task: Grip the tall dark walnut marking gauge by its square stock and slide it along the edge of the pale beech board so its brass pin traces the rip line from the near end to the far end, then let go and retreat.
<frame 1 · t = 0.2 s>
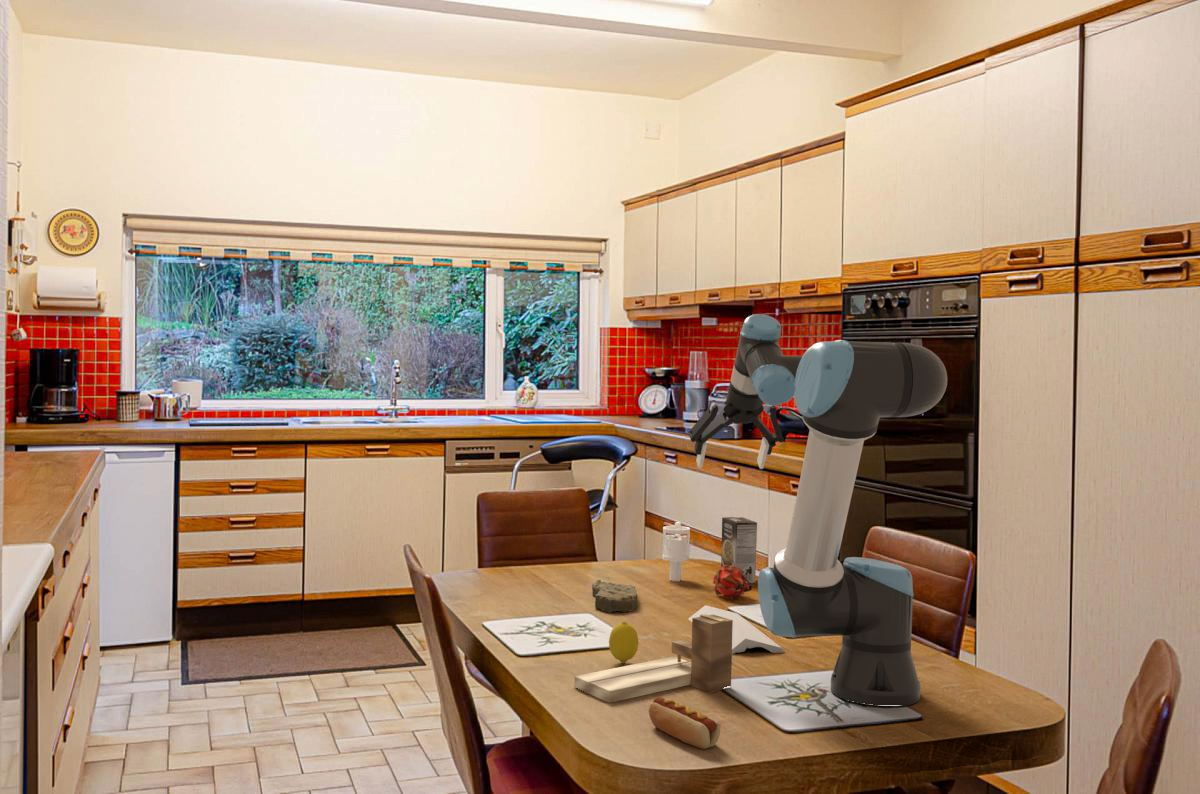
hand: (729, 464, 228), 35 cm above the table, tool tilted 35°, fingers open, 13 cm apart
board: (643, 683, 187), on the table
dragon fruit: (731, 598, 259), on the table
crown molding: (733, 638, 223), on the table
strainer: (675, 580, 279), on the table
coffee box: (737, 580, 281), on the table
gauge: (710, 686, 187), on the table
stone slab: (614, 602, 254), on the table
lemon: (623, 664, 200), on the table
food: (683, 739, 161), on the table
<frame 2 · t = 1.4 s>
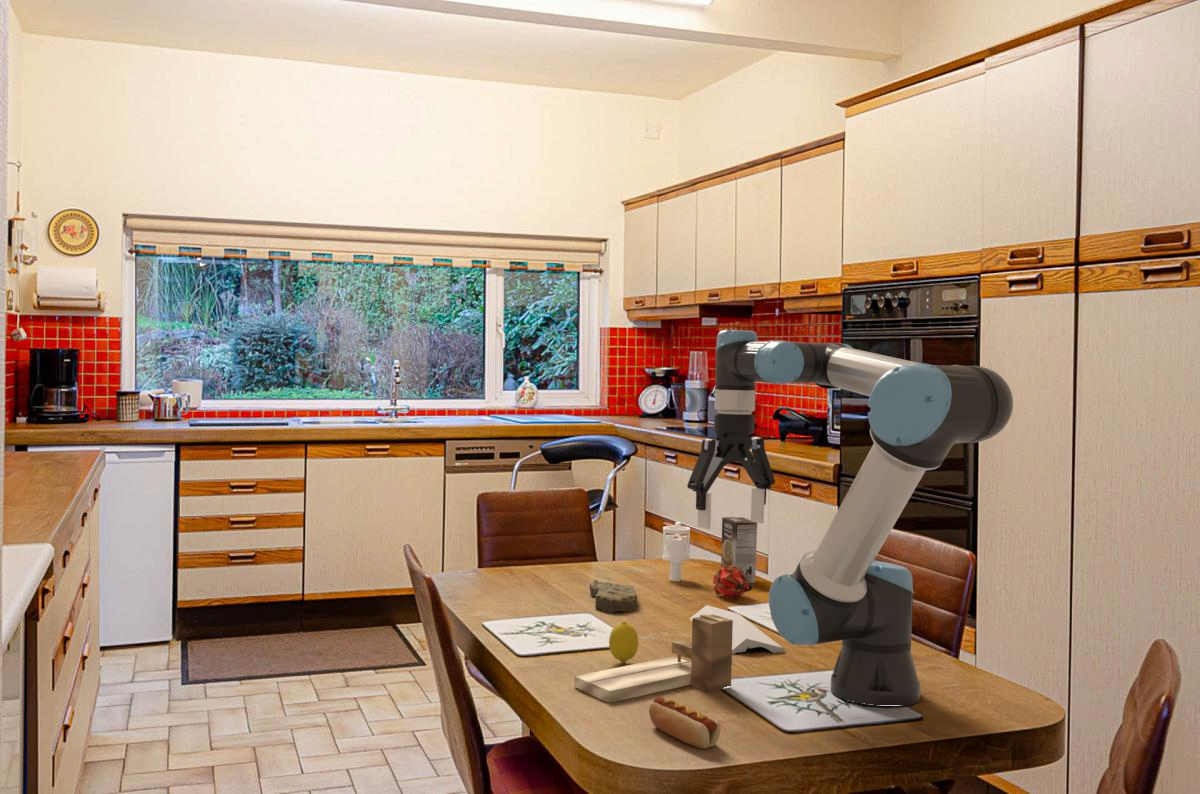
hand: (731, 525, 199), 27 cm above the table, tool pointing down, fingers open, 13 cm apart
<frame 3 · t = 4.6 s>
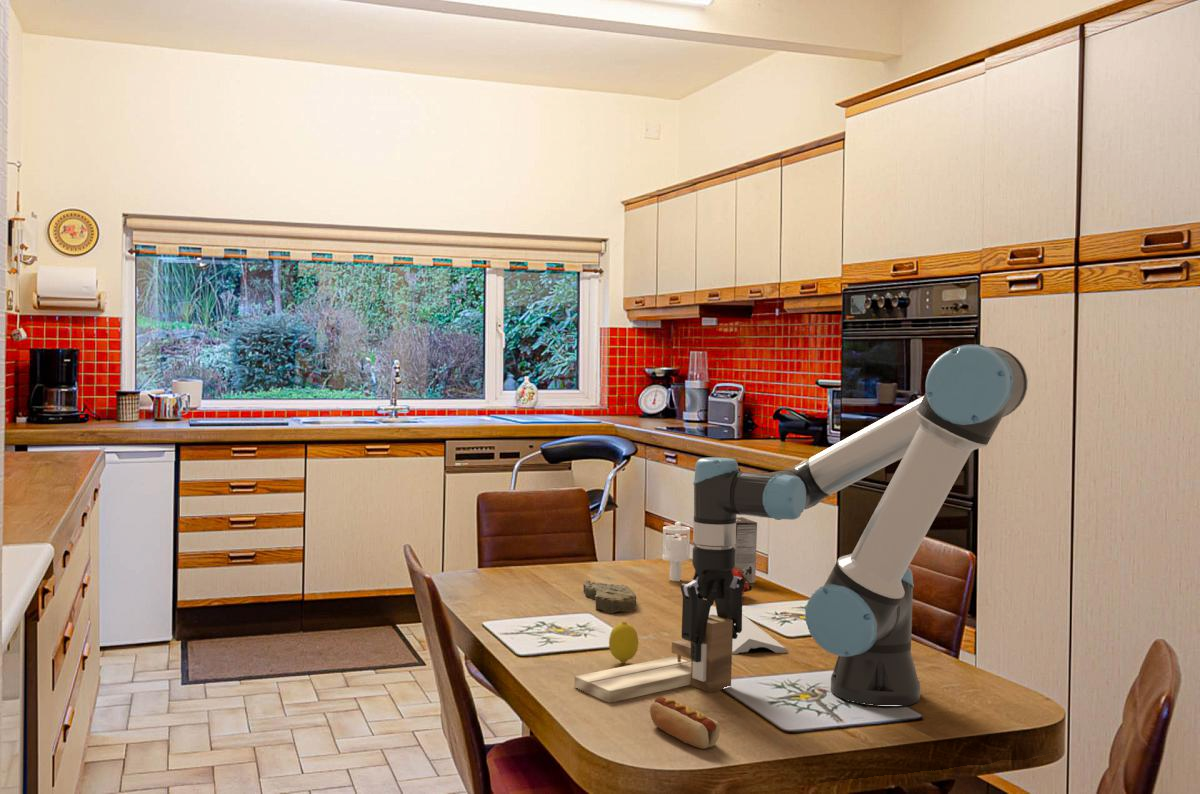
hand: (711, 676, 187), 2 cm above the table, tool pointing down, fingers closed on gauge, 5 cm apart
gauge: (710, 686, 187), on the table, touching gripper
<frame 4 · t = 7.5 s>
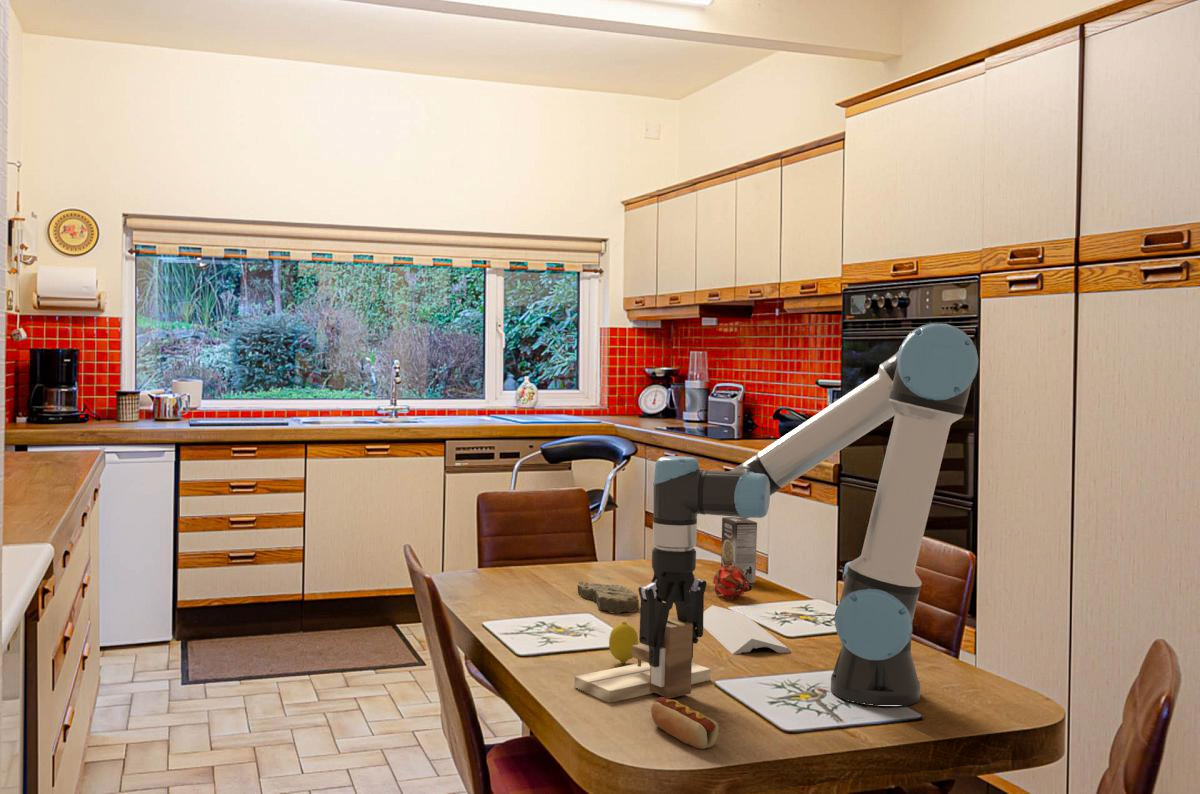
hand: (670, 681, 181), 2 cm above the table, tool pointing down, fingers closed on gauge, 5 cm apart
gauge: (670, 692, 181), point 1 cm above the table, touching gripper
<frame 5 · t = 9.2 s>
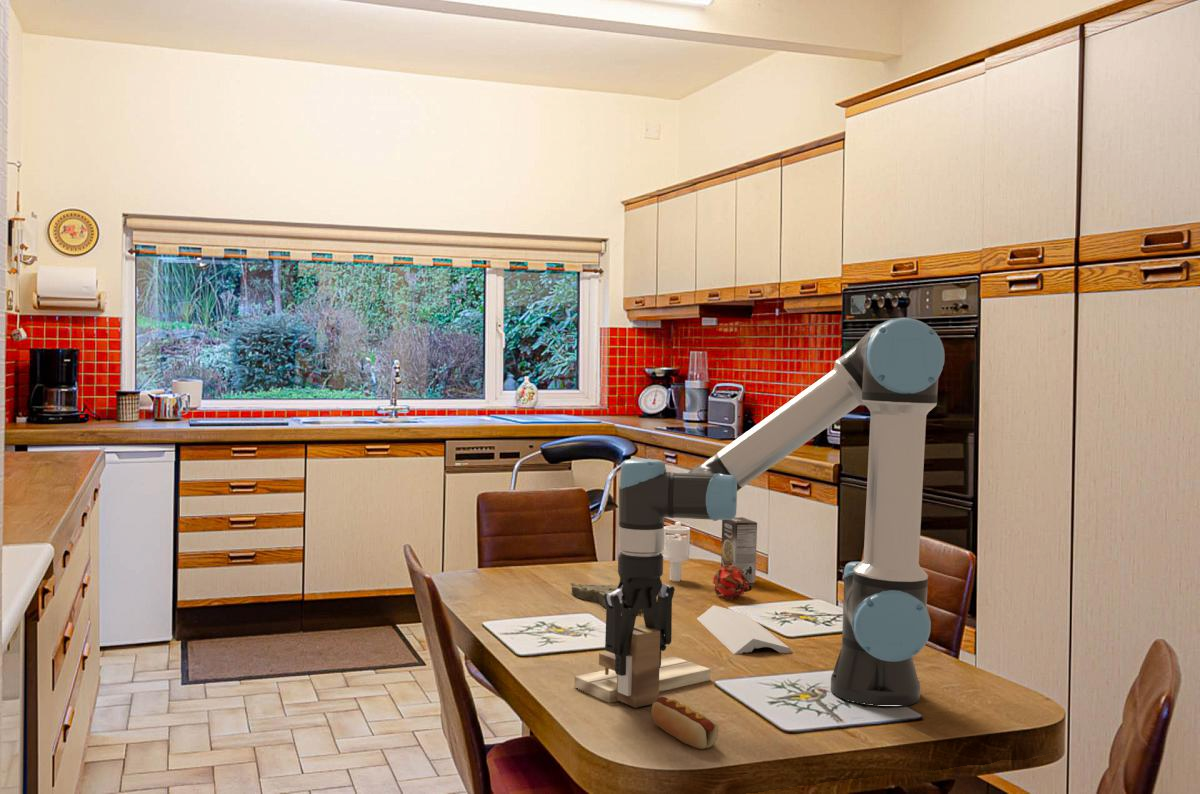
hand: (637, 690, 176), 2 cm above the table, tool pointing down, fingers closed on gauge, 5 cm apart
gauge: (637, 700, 177), on the table, touching gripper
when the fingers open (2 cm above the table, at t = 10.3 s): gauge stays where it is, on the table.
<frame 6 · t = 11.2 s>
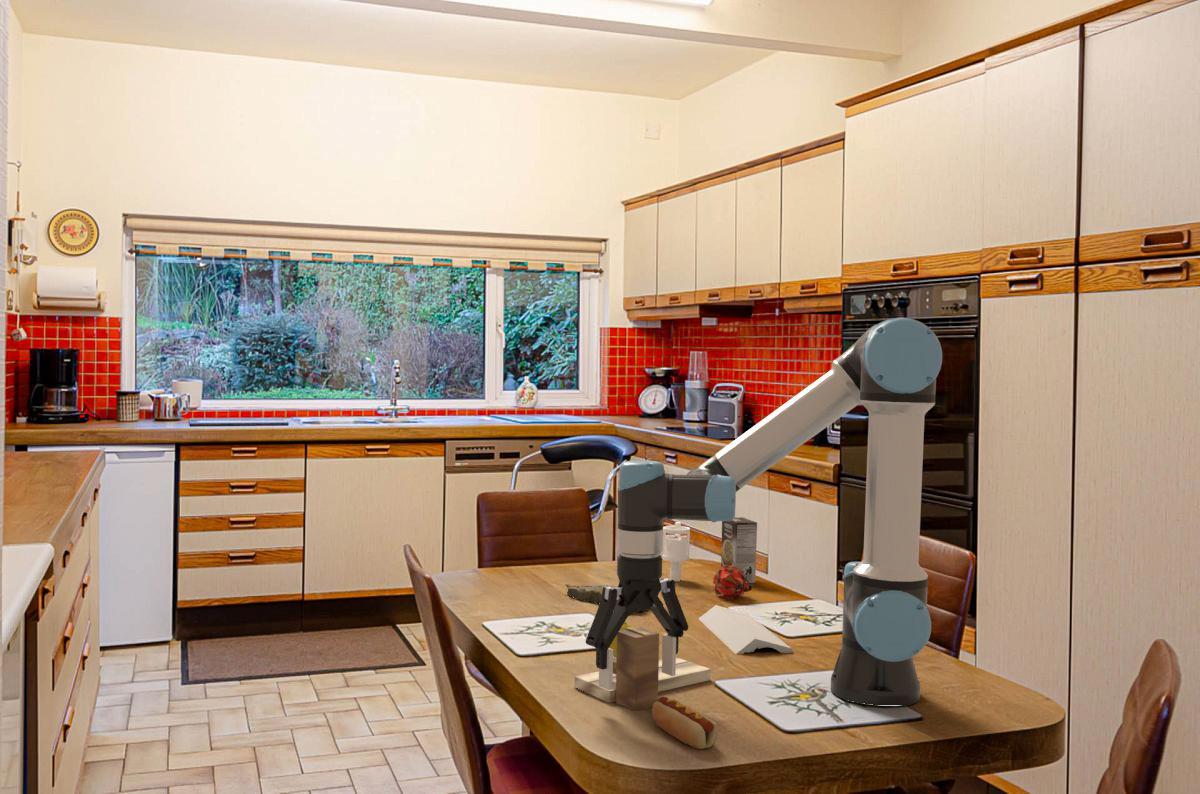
hand: (637, 680, 176), 4 cm above the table, tool pointing down, fingers open, 13 cm apart
gauge: (636, 703, 176), on the table
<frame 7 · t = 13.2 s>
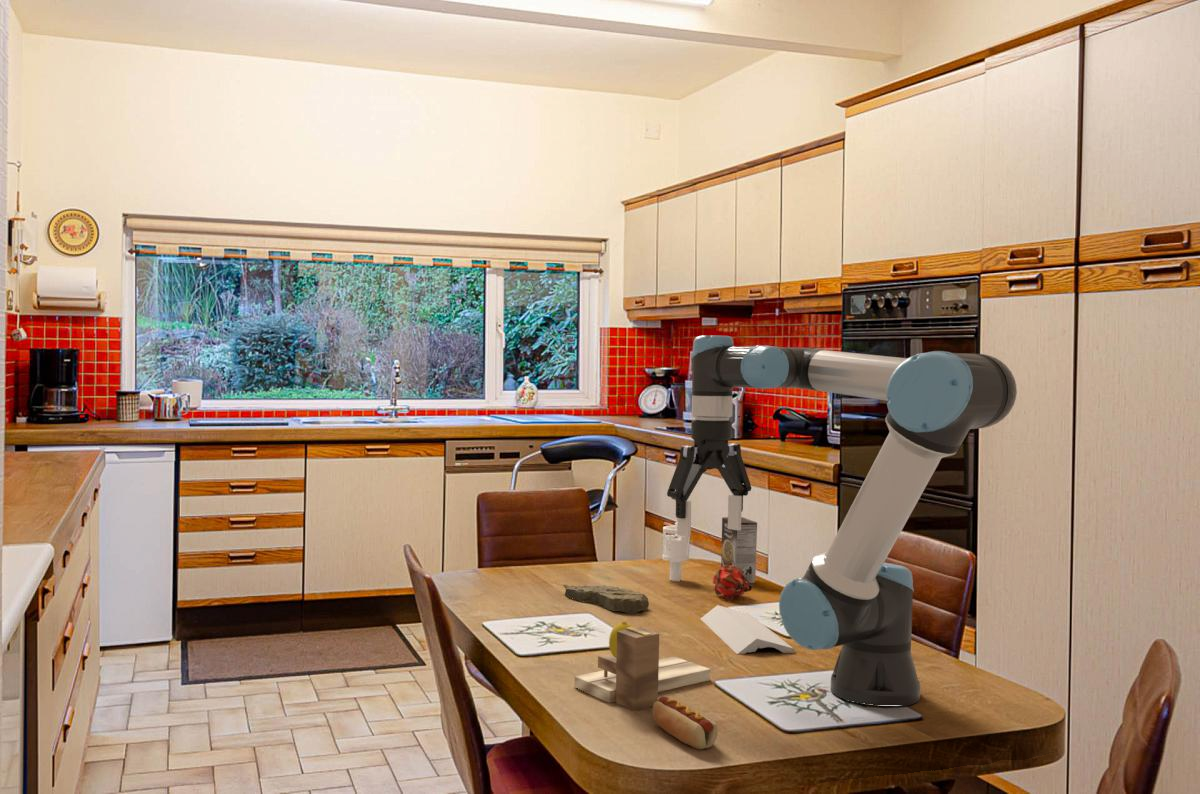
hand: (709, 532, 197), 26 cm above the table, tool pointing down, fingers open, 13 cm apart
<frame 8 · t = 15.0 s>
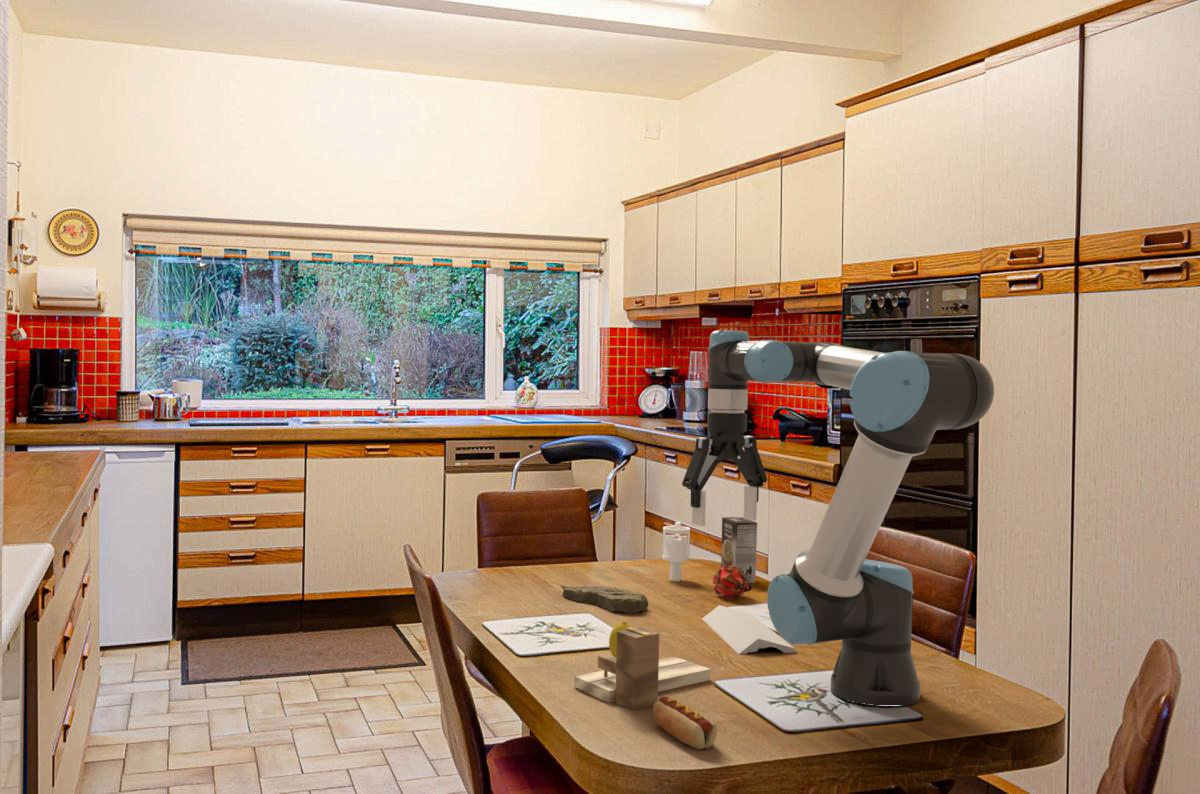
hand: (724, 522, 202), 27 cm above the table, tool pointing down, fingers open, 13 cm apart
at the end: gauge inside the target area (0.2 cm from its centre), on the table; gauge moved 17.0 cm from its start; gauge tilted 0° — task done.
